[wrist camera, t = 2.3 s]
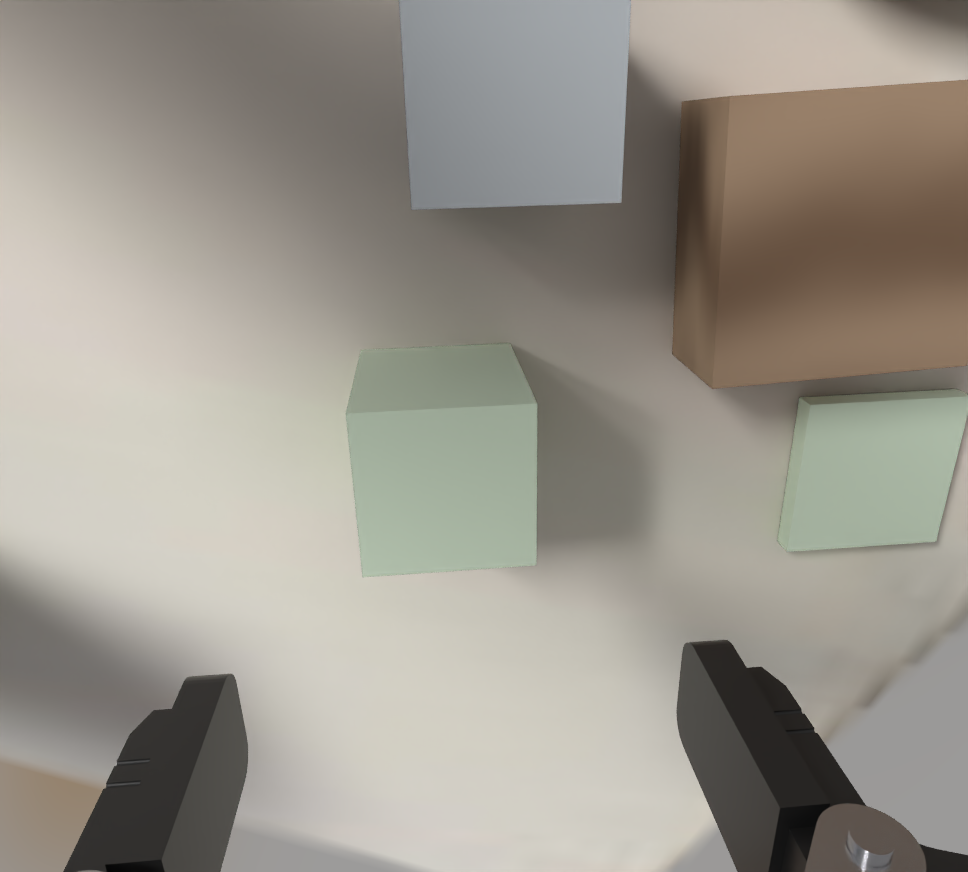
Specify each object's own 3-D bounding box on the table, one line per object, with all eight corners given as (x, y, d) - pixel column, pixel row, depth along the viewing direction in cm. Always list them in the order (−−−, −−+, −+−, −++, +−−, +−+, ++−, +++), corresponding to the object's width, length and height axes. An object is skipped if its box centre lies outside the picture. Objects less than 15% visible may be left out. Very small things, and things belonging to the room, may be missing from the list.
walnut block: (678, 102, 23) (730, 96, 19) (927, 84, 23) (1025, 75, 19) (669, 351, 26) (712, 388, 22) (889, 332, 26) (967, 365, 22)
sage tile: (799, 397, 26) (810, 404, 26) (956, 388, 27) (972, 396, 26) (777, 541, 29) (786, 551, 28) (922, 531, 29) (935, 541, 28)
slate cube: (401, 4, 21) (396, -41, 15) (575, 2, 21) (632, -44, 16) (412, 190, 23) (411, 209, 17) (571, 185, 23) (621, 202, 17)
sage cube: (361, 349, 24) (345, 413, 19) (509, 342, 25) (537, 403, 19) (373, 483, 26) (362, 577, 21) (511, 475, 27) (536, 565, 21)
